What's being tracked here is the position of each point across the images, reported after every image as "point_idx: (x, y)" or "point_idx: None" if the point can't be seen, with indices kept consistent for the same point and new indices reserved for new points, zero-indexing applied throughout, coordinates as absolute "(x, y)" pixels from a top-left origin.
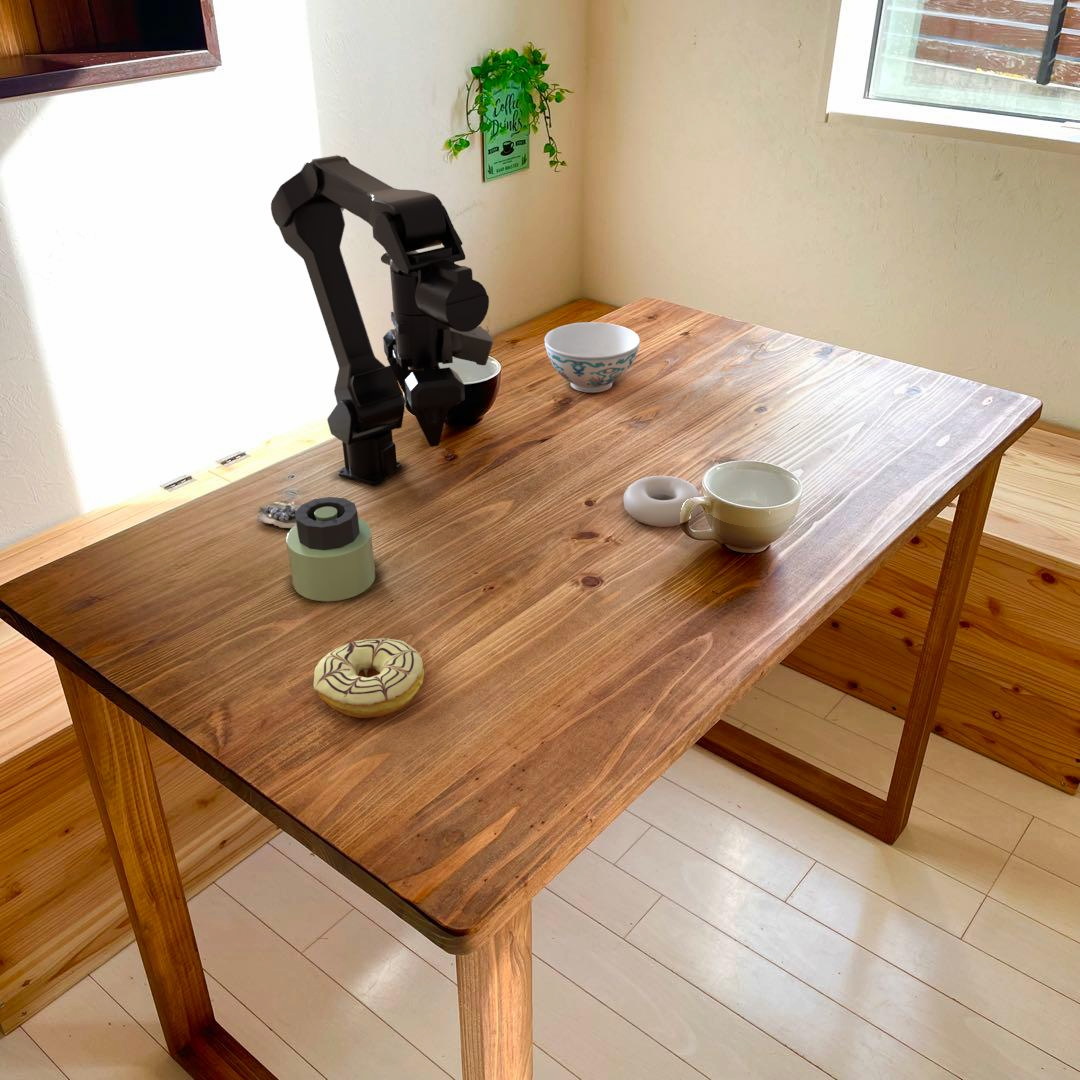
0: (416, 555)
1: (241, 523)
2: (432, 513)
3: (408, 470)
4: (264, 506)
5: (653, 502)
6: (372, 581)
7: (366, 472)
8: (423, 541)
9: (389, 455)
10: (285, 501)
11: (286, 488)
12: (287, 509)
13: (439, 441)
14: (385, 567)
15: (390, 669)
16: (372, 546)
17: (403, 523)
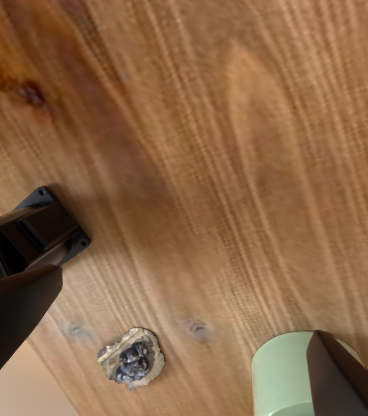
0: (316, 272)
1: (126, 393)
2: (206, 201)
3: (58, 179)
4: (105, 373)
5: None
6: (351, 349)
7: (65, 252)
8: (282, 247)
9: (49, 228)
10: (101, 351)
11: (62, 330)
12: (134, 370)
13: (342, 346)
14: (319, 318)
15: None
16: None
17: (214, 250)
